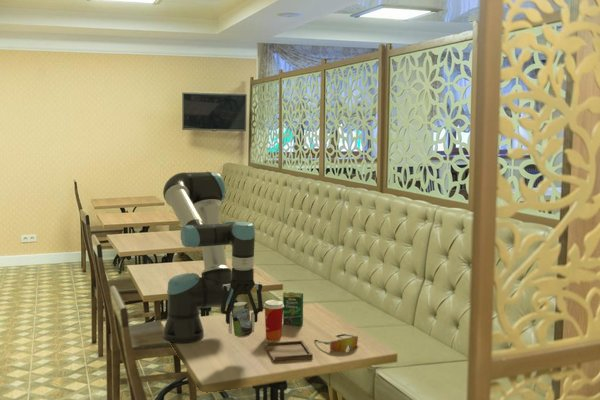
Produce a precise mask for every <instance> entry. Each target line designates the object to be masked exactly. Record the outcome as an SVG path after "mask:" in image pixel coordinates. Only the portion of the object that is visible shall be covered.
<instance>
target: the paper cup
mask: <svg viewBox="0 0 600 400" xmlns="http://www.w3.org/2000/svg"><path fill="white" fill-rule="evenodd" d="M283 307H284V304H283V300H278V299H277V300H276V299H269V300H268V299H267V300H266V301H265V302H264V304H263V308H264V319H265V320H264V321H265V322H264V324H265V338H266V340H267V341H272V342H275V341H276V342H277V341H279V340H281V337H282V328H283Z"/></svg>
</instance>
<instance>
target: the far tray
mask: <svg viewBox="0 0 600 400" xmlns="http://www.w3.org/2000/svg"><path fill="white" fill-rule="evenodd" d="M264 347H265V350H266V352H267V353H268V355H269V357H270V359H271V360H272V363H280V362H281V363H283V362H295V361H305V360H306V361H311V360H313V353H312V352H311V350H310V349H309V347H308V346H307V345H306V343H305V342H304V341H303V339H302V340H301V339H300V340H290V341H289V340H287V341H276V342H275V341H272V342H267V343H266V344H265V345H264Z"/></svg>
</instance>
